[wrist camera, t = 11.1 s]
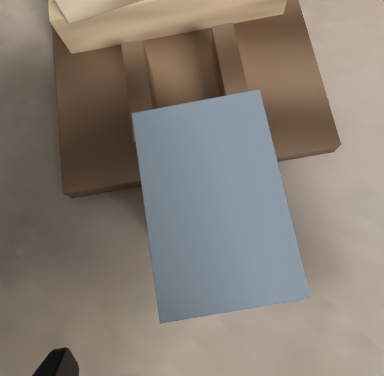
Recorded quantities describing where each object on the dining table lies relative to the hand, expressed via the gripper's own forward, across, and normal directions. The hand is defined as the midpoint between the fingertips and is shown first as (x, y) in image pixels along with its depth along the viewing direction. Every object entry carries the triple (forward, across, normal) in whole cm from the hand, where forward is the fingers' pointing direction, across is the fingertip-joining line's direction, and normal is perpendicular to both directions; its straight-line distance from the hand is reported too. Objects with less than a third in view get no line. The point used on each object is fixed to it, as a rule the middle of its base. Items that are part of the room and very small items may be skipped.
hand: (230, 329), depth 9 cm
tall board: (+7, 0, +3) cm, 7 cm away
